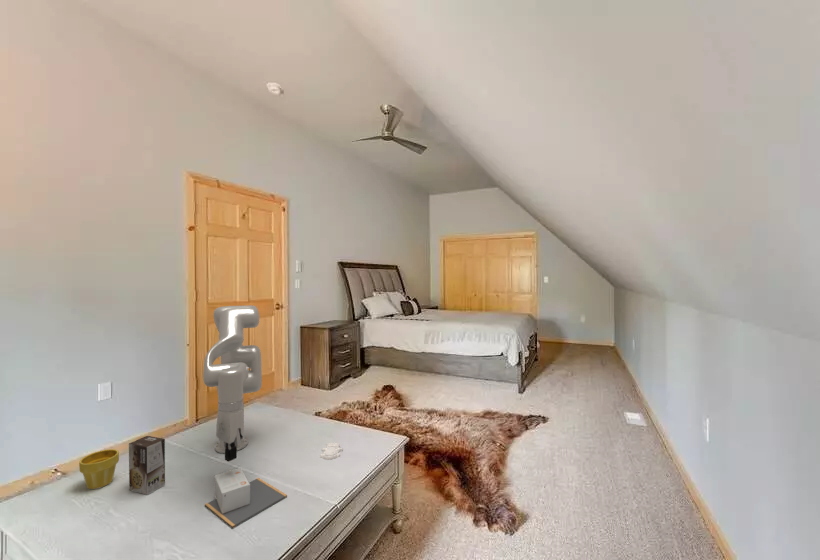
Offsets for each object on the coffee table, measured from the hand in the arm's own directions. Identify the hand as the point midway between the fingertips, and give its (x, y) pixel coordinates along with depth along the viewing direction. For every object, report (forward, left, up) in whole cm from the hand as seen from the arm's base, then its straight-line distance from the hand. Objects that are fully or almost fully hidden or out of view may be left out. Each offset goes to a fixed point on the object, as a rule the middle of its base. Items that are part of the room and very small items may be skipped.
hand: (230, 459), depth 118 cm
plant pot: (-41, -25, -11) cm, 49 cm away
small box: (-1, -1, -7) cm, 7 cm away
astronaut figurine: (+8, +38, -11) cm, 40 cm away
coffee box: (-25, -16, -11) cm, 32 cm away
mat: (+10, 0, -11) cm, 15 cm away
